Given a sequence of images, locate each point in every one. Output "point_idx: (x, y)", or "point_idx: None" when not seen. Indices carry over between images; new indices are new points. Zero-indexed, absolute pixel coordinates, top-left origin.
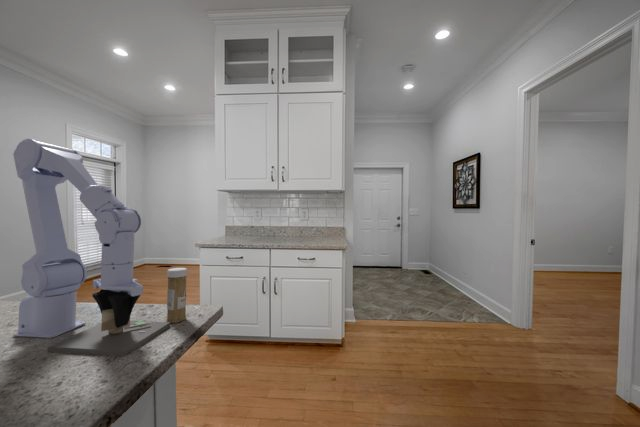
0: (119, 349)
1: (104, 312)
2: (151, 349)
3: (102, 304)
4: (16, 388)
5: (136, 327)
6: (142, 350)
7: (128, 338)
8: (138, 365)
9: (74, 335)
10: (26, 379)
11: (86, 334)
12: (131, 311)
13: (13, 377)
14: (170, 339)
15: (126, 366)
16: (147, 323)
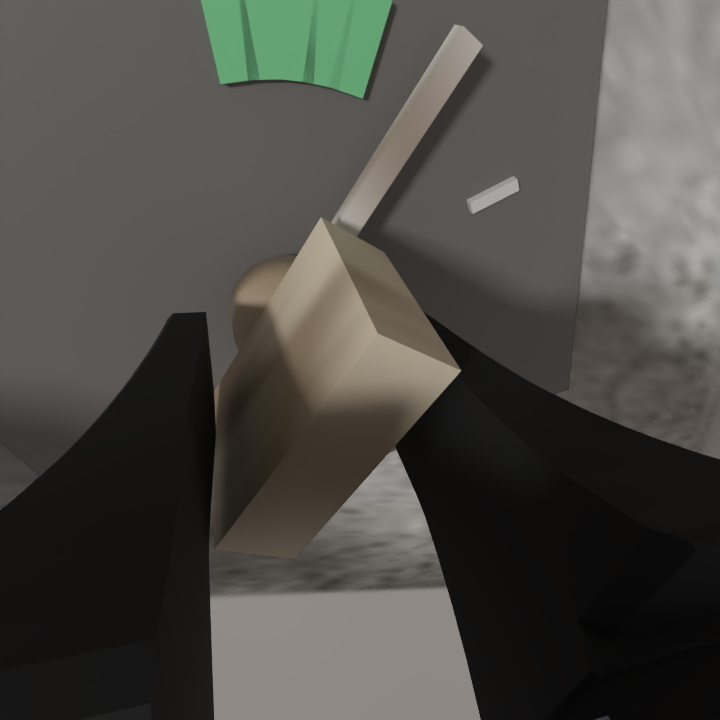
0: None
1: (303, 543)
2: (650, 271)
3: (209, 623)
4: (377, 578)
5: (339, 133)
6: (606, 300)
7: (471, 305)
8: (664, 377)
9: (25, 452)
10: (345, 566)
11: (89, 410)
12: (501, 368)
13: (288, 584)
14: (716, 114)
15: (619, 400)
16: (459, 77)
